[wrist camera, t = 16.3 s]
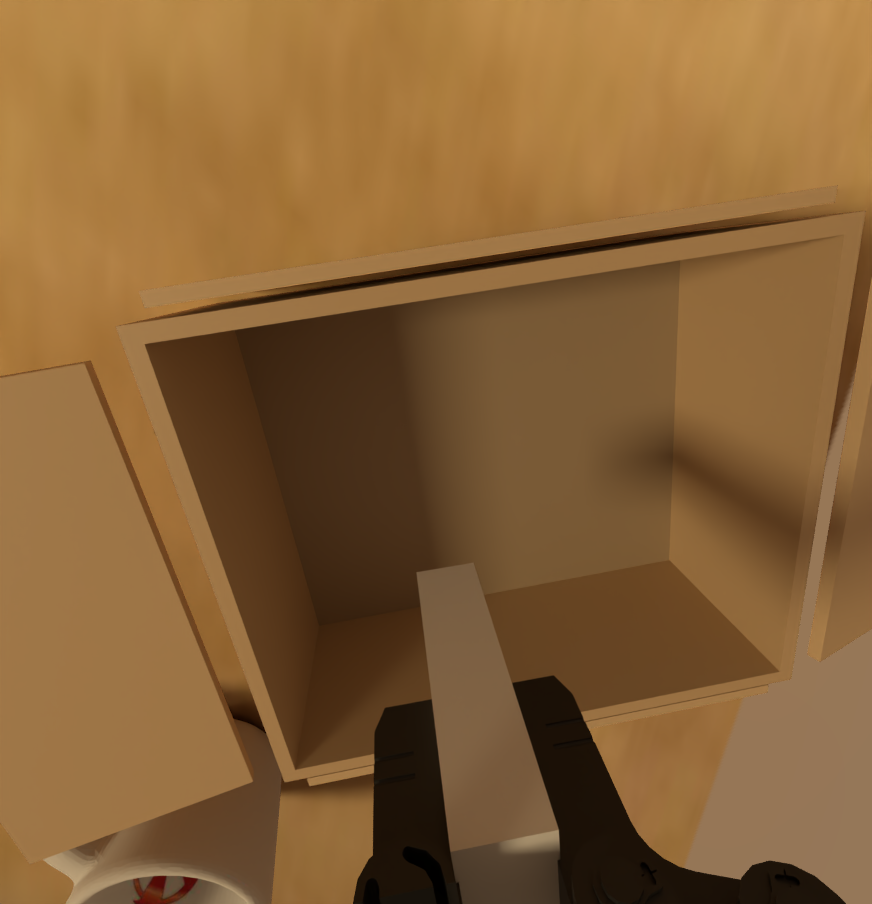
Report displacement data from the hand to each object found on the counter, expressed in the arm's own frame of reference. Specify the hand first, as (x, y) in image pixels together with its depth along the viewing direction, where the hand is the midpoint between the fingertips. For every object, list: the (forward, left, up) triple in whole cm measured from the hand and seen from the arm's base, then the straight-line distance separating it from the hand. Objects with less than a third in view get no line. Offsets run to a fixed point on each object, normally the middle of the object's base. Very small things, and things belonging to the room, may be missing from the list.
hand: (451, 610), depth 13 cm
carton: (0, +3, -10) cm, 10 cm away
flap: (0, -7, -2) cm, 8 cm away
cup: (+14, -14, -10) cm, 22 cm away
